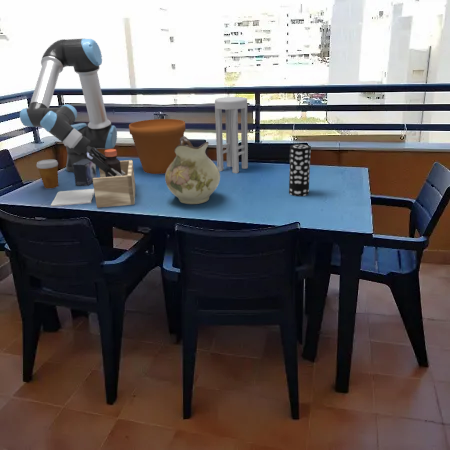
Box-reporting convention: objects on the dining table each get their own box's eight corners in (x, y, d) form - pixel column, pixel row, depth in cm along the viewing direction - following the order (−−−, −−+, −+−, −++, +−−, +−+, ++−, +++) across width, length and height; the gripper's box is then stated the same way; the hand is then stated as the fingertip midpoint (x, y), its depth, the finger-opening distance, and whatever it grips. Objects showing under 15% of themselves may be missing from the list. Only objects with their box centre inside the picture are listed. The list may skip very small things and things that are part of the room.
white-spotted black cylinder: (296, 197, 181) (298, 149, 173) (285, 192, 188) (286, 146, 180) (312, 194, 185) (315, 147, 177) (300, 188, 191) (302, 143, 184)
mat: (58, 192, 196) (58, 191, 196) (95, 189, 199) (94, 188, 199) (50, 206, 180) (50, 205, 180) (90, 203, 182) (90, 201, 182)
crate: (102, 187, 202) (98, 162, 197) (135, 185, 204) (132, 159, 199) (96, 207, 177) (92, 179, 172) (134, 204, 179) (131, 176, 175)
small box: (88, 186, 205) (84, 164, 201) (75, 185, 206) (71, 164, 202) (98, 179, 214) (95, 158, 210) (86, 179, 215) (82, 158, 211)
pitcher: (200, 212, 168) (197, 147, 159) (153, 202, 180) (147, 142, 171) (230, 195, 186) (229, 137, 177) (186, 188, 198) (182, 132, 188)
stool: (253, 167, 226) (252, 97, 213) (237, 174, 214) (236, 101, 201) (227, 164, 234) (226, 96, 221) (211, 171, 222) (208, 100, 209)
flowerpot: (165, 159, 247) (161, 117, 238) (199, 167, 229) (196, 122, 220) (123, 170, 229) (117, 124, 220) (156, 179, 211) (151, 130, 202)
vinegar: (118, 191, 195) (113, 147, 187) (127, 195, 190) (121, 150, 182) (105, 195, 190) (98, 150, 182) (113, 199, 186) (107, 153, 178)
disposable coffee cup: (66, 184, 208) (62, 160, 203) (51, 190, 200) (46, 165, 195) (51, 182, 212) (46, 158, 207) (36, 188, 204) (31, 163, 199)
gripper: (74, 144, 188) (118, 177, 197) (68, 154, 171) (116, 190, 180) (85, 131, 187) (128, 165, 196) (79, 140, 170) (127, 177, 179)
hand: (122, 177), depth 188 cm, fingers closed on vinegar, 6 cm apart
